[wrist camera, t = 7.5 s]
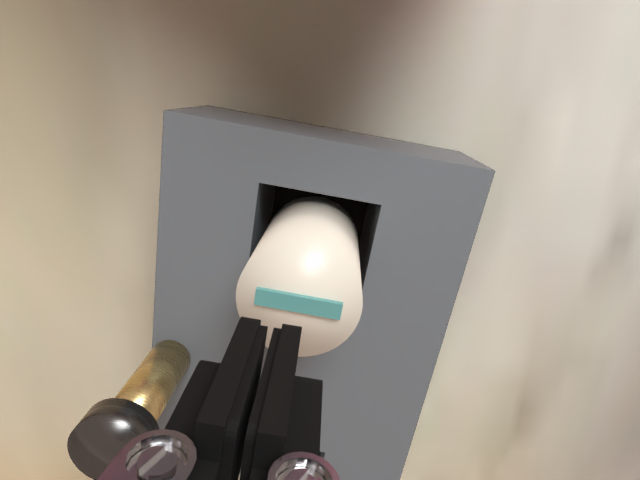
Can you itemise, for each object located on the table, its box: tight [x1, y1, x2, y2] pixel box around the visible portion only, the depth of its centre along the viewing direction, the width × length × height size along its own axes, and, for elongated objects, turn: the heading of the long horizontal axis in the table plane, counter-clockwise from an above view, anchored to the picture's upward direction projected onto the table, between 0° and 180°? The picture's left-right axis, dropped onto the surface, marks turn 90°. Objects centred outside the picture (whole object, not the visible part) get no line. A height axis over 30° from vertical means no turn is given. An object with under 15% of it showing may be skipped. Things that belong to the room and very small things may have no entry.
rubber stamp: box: [67, 340, 191, 480], centre depth 19 cm, size 3×3×6 cm
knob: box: [236, 196, 363, 357], centre depth 18 cm, size 4×4×7 cm
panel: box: [152, 106, 495, 480], centre depth 25 cm, size 14×24×6 cm, turn 170°
